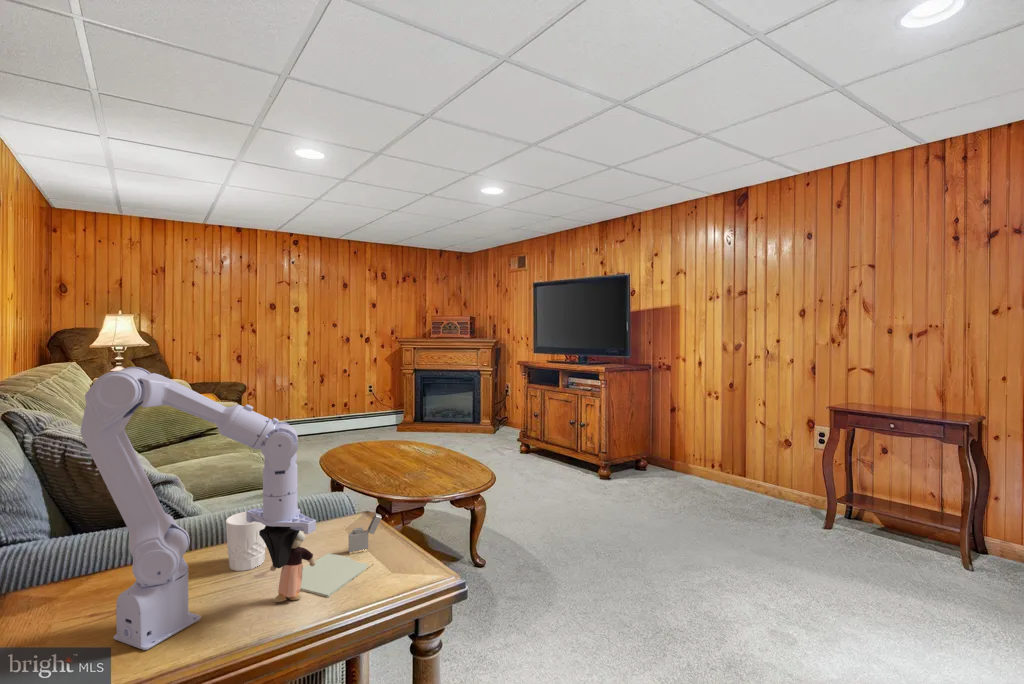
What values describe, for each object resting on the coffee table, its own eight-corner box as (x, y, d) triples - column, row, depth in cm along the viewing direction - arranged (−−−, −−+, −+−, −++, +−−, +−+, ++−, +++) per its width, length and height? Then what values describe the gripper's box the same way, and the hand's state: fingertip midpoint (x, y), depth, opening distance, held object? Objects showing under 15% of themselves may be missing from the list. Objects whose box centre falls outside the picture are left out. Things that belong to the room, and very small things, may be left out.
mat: (328, 597, 95) (328, 595, 95) (279, 584, 100) (279, 582, 100) (373, 564, 108) (373, 562, 108) (328, 554, 113) (328, 552, 113)
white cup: (236, 576, 103) (236, 528, 102) (219, 564, 107) (219, 518, 107) (274, 562, 109) (274, 516, 108) (256, 551, 114) (256, 508, 113)
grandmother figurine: (270, 606, 91) (275, 534, 92) (267, 597, 94) (272, 528, 95) (314, 597, 95) (319, 528, 96) (310, 589, 98) (315, 523, 99)
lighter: (349, 554, 113) (349, 519, 113) (348, 551, 115) (348, 516, 114) (381, 549, 116) (381, 514, 116) (380, 546, 117) (380, 512, 117)
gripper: (328, 490, 93) (327, 563, 93) (268, 480, 98) (268, 549, 98) (298, 502, 86) (299, 581, 87) (236, 491, 91) (236, 565, 92)
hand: (280, 565), depth 92 cm, fingers closed
